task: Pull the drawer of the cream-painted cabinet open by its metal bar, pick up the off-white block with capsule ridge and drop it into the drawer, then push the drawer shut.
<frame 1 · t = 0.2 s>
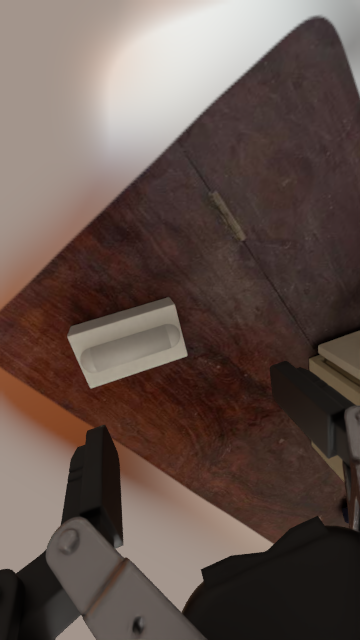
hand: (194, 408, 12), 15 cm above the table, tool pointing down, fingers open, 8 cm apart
cabinet: (353, 388, 37), on the table
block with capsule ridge: (129, 336, 26), on the table
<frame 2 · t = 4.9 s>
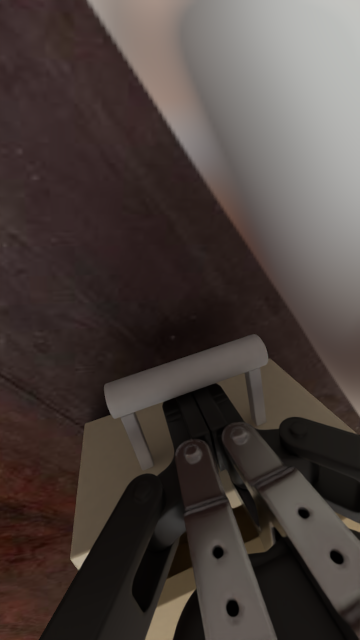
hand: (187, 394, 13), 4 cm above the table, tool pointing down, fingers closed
drawer: (214, 485, 16), point 5 cm above the table, slide at 2.5 cm, touching gripper
cabinet: (207, 487, 23), on the table
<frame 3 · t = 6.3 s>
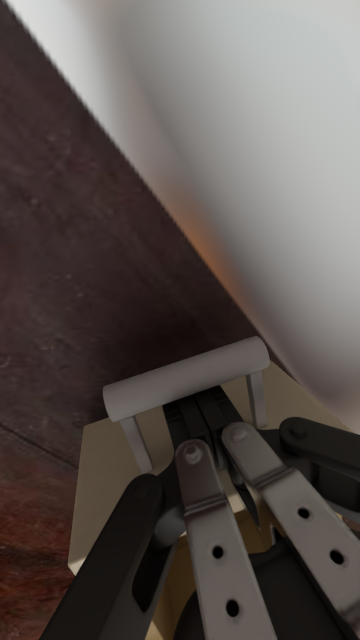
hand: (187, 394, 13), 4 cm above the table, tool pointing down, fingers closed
drawer: (214, 489, 16), point 5 cm above the table, slide at 8.3 cm, touching gripper
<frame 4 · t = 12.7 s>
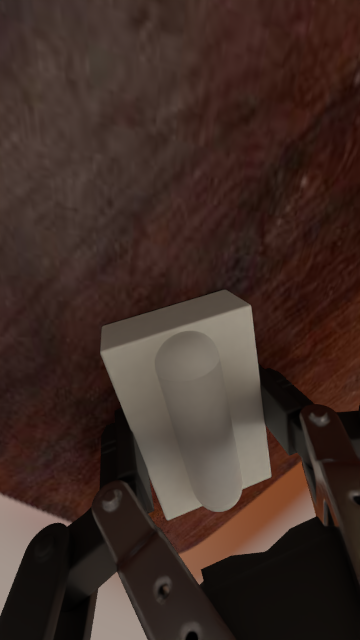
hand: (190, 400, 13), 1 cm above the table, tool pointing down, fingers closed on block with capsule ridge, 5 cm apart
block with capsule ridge: (188, 393, 13), on the table, touching gripper
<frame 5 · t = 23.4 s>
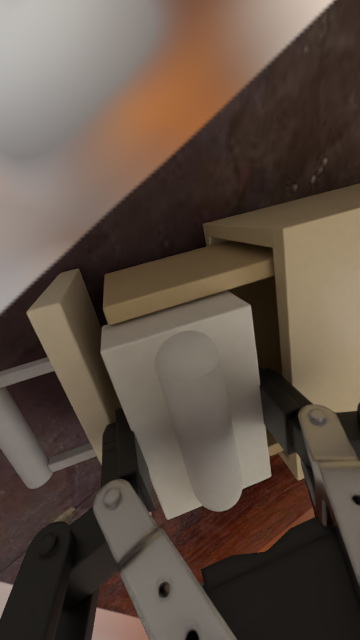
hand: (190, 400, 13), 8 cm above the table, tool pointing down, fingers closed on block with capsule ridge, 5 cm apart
drawer: (172, 367, 16), point 5 cm above the table, slide at 8.4 cm, touching gripper
cabinet: (306, 290, 22), on the table
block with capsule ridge: (188, 393, 13), point 7 cm above the table, touching gripper
when the fingers open (10 cm above the table, at t = 34.3 s): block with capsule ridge drops 8 cm, resting on drawer.
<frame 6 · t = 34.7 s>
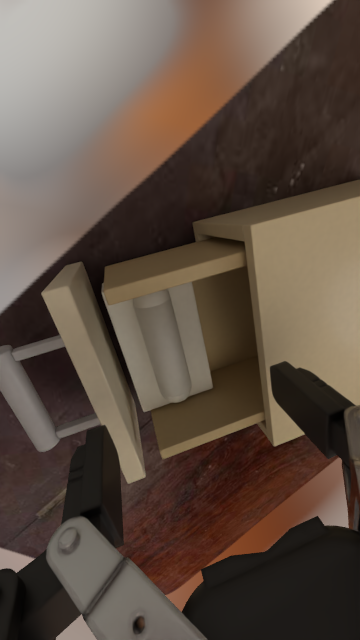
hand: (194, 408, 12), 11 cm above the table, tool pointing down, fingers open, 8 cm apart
drawer: (164, 348, 18), point 5 cm above the table, slide at 8.4 cm, touching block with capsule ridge
cabinet: (288, 282, 24), on the table
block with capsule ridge: (158, 332, 20), point 2 cm above the table, touching drawer
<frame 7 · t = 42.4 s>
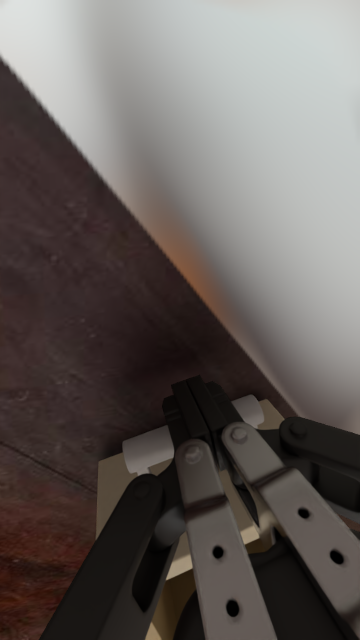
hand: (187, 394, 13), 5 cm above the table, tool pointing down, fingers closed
drawer: (215, 518, 18), point 5 cm above the table, slide at 7.3 cm, touching gripper, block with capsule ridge
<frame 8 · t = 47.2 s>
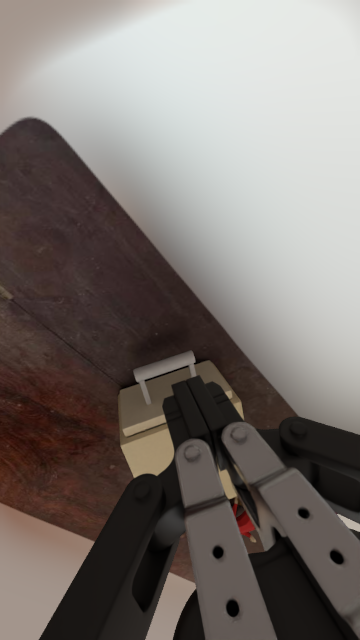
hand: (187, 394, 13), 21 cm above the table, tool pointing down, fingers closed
drawer: (179, 418, 35), point 5 cm above the table, slide at 0.0 cm, touching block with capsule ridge
cabinet: (178, 418, 41), on the table
toy: (230, 505, 52), on the table
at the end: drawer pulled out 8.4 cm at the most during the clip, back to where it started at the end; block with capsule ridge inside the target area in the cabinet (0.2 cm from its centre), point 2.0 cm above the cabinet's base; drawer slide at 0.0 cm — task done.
